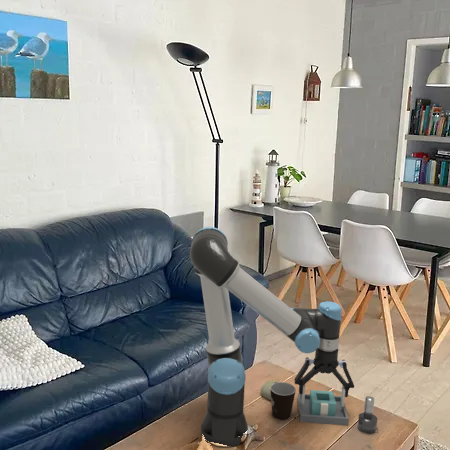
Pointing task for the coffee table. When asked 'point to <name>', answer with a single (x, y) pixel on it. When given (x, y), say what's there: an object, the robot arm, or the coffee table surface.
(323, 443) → the coffee table surface
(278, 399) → the coffee mug
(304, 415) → the tray
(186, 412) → the coffee table surface
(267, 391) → the sea urchin shell
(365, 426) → the cylinder
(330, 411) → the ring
